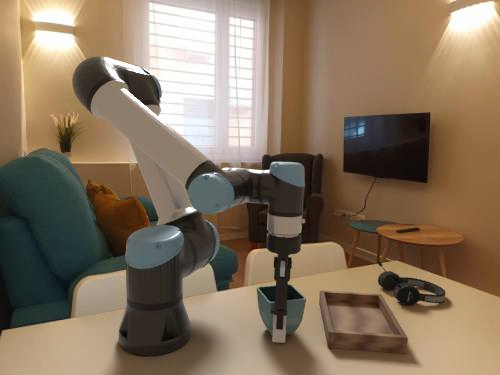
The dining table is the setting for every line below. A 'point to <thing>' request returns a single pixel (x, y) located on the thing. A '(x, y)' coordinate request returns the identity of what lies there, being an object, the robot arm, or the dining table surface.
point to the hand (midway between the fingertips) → (279, 329)
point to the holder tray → (360, 322)
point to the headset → (410, 288)
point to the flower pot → (293, 307)
